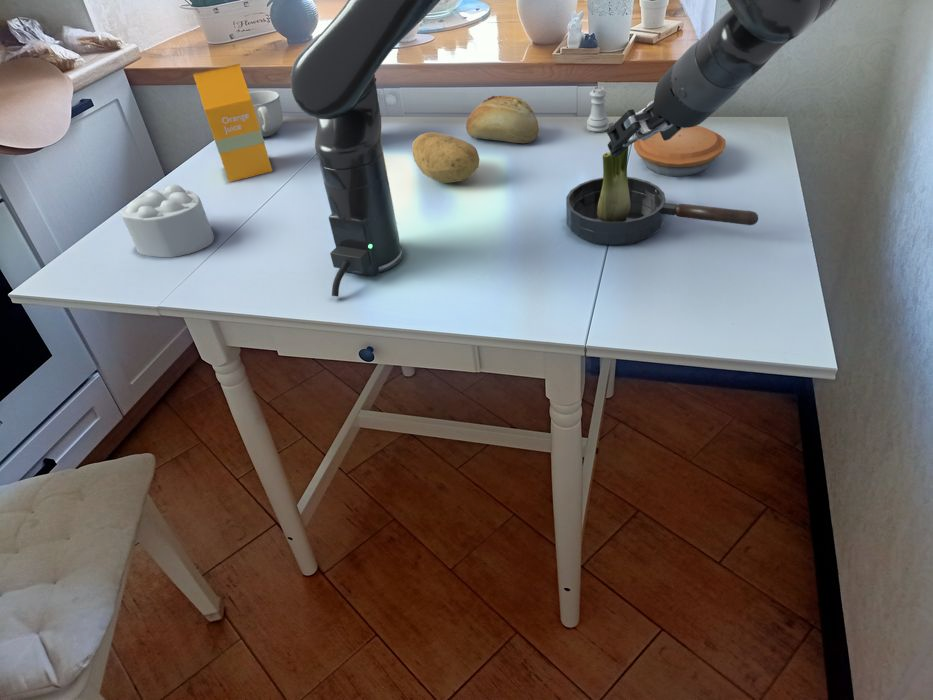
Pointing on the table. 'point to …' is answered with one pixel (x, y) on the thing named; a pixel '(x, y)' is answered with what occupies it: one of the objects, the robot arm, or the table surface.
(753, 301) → the table surface
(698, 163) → the pie
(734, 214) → the pan handle
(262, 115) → the teacup
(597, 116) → the rook chess piece
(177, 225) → the lumpy-topped squat cylinder
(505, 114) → the bread roll
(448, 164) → the potato
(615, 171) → the fennel bulb
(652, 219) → the pan
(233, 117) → the orange juice
